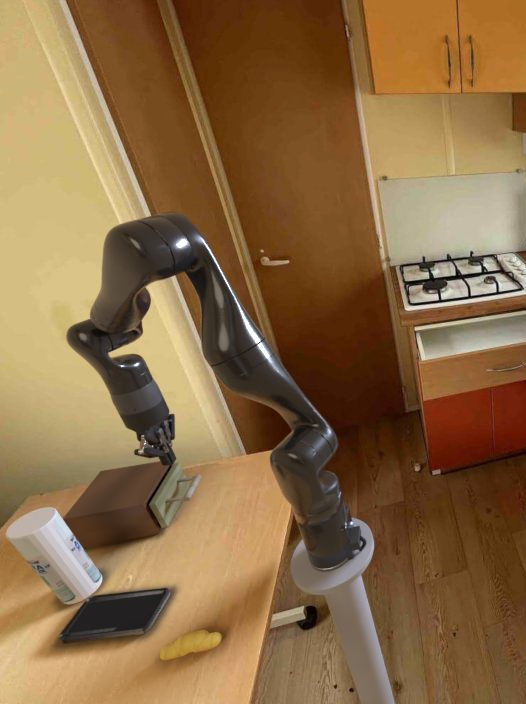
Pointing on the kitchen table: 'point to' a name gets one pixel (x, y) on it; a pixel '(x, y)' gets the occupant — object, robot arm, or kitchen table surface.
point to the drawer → (171, 494)
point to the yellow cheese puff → (190, 644)
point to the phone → (115, 615)
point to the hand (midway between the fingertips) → (170, 462)
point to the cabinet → (116, 506)
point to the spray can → (55, 554)
